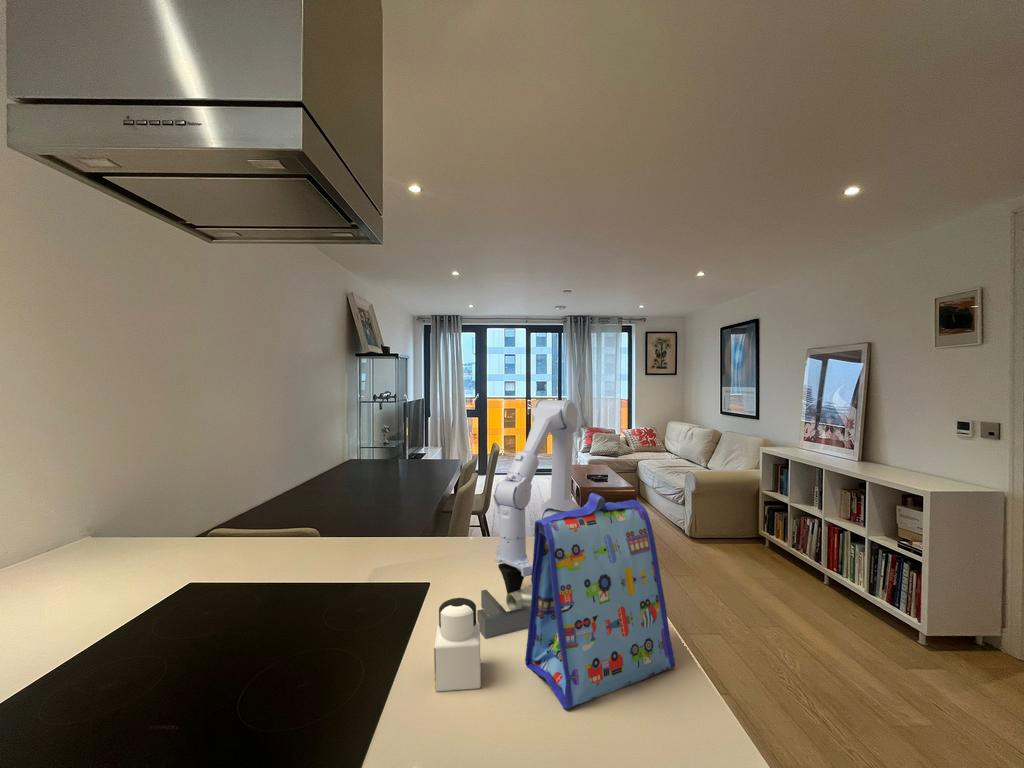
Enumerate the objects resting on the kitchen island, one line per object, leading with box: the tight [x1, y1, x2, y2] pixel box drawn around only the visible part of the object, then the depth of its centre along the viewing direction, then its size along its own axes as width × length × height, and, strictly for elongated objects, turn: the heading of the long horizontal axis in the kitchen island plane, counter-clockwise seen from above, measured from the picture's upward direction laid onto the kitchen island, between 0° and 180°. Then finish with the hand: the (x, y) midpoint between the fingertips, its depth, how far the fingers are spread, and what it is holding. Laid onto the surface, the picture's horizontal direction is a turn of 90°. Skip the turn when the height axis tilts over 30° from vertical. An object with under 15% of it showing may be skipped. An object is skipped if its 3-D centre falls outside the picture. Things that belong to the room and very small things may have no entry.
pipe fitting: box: [506, 584, 533, 611], centre depth 98 cm, size 8×4×7 cm
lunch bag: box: [524, 492, 676, 710], centre depth 77 cm, size 22×14×29 cm, turn 117°
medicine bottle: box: [433, 597, 482, 692], centre depth 75 cm, size 7×7×12 cm
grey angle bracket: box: [476, 589, 531, 640], centre depth 97 cm, size 22×12×4 cm, turn 114°
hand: (513, 597), depth 101 cm, fingers closed
